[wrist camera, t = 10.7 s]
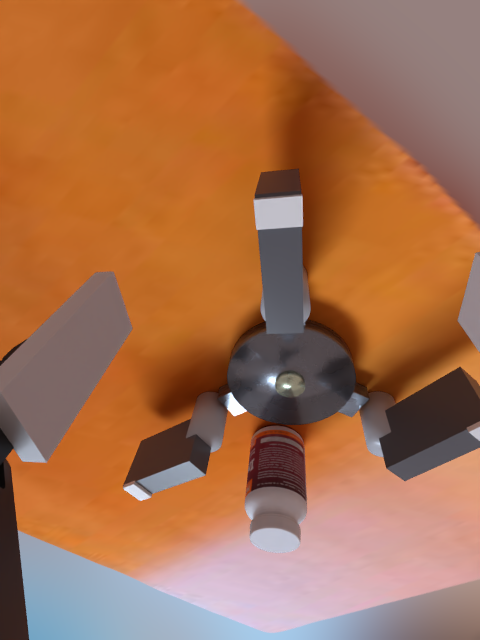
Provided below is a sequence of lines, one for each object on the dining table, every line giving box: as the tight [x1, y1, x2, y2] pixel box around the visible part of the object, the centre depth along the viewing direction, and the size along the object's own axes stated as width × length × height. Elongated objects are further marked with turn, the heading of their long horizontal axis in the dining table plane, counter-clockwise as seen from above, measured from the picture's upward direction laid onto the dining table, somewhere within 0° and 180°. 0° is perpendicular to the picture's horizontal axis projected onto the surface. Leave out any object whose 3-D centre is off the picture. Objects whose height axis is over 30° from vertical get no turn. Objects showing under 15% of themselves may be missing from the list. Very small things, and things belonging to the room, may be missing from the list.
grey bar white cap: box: [254, 169, 311, 334], centre depth 25 cm, size 11×4×8 cm, turn 7°
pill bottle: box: [245, 426, 307, 553], centre depth 37 cm, size 6×6×11 cm
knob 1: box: [123, 392, 228, 501], centre depth 37 cm, size 11×4×8 cm, turn 127°
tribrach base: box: [217, 320, 369, 425], centre depth 34 cm, size 14×15×3 cm
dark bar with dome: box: [359, 367, 480, 481], centre depth 32 cm, size 11×4×8 cm, turn 141°
